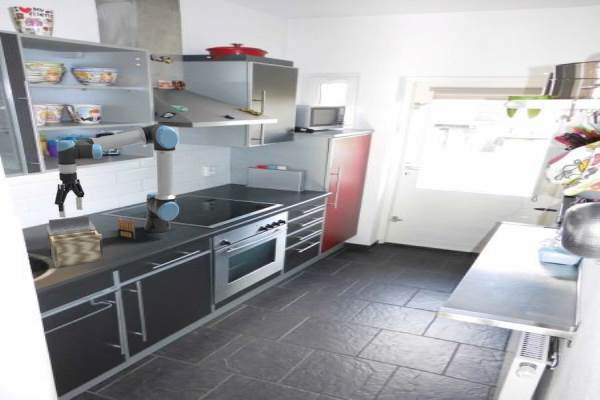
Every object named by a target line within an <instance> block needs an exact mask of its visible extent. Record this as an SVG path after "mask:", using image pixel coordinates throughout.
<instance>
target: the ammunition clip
mask: <svg viewBox="0 0 600 400" xmlns="http://www.w3.org/2000/svg"><path fill="white" fill-rule="evenodd" d="M117 237H118V238H121V239H127V240H133V241H135V240H136V239H137V237H136V229H135V221H134V219H130V218H125V217H124V218H123V217H118V228H117Z"/></svg>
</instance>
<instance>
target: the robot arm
mask: <svg viewBox="0 0 600 400" xmlns="http://www.w3.org/2000/svg"><path fill="white" fill-rule="evenodd" d="M178 142H179V135H178V133H177V131H176V130H175V129H174V128H173V127H170V126H169V125H164V124H159V123H157V124H156V123H155V124H151V125H147V126H142V127H139V128H138V129H136V130H131V131H127V132H121V133H117V134H112V135H111V134H110V135H106V136H101V137H95V138H90V139H85V140H84V139H79V140H76V141H74V140H69V139H67V140H66V139H64V140H63V139H62V140H59V141H57V142H56V154H57V162H58V171H59V173H58V176H59V181H61V183H59V184H57V188H56V189H57V191H56V194H55V195H56V196H55V199H54V205H57V206H58V212H59V218H62V219H63V218H67V212H66V204H65V201H66V199H67V196H68V194H69V193H70V192H71V191H72V192H73V194H74V195H75V196H76V197H75V205H76V210H77V211H78V210H80V211H83V198H84V197H85V191H84V190H83V187H82V185H81V181H80V179H78V172H77V162H76V161H79V160H81V161H82V160H98V159H99V160H100V159H102V157H103V152H107V151H110V150H111V151H112V150H116V149H121V148H125V147H130V146H135V145H140V144H142V145H148V144H149V145H150V144H153V151H154V152H155V153H156V176H157V179H156V181H157V187H156V188H157V191H156V192H150V193H147V194H146V220H145V224H144V227H143V229H144V231H145V232H146V233H147V232H148V233H153V234H156V233H157V234H158V233H165V232H167V231H169V230H171V224H170V221H172V220H174V219H175V218H176V217H177V216H178V214H179V212H180V207H179V205H178V204H177V195H176V194H174V167H173V166H174V162H173V154H174V153H175V152H176V146H177V144H178Z"/></svg>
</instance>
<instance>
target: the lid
mask: <svg viewBox="0 0 600 400" xmlns="http://www.w3.org/2000/svg"><path fill="white" fill-rule="evenodd" d="M89 218H90V217H89V215H83V216H73V217H66V218H63V217H62V218H58V219H56V218H55V219H48V225H46V231H47V230H48V232H49V235H53V236H57V235H65V234H73V233H81V232H88V231H89V230H96V229H97V227H96V226H95V224H93V222H92V221H91V220H90V219H89Z"/></svg>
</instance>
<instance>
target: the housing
mask: <svg viewBox="0 0 600 400" xmlns="http://www.w3.org/2000/svg"><path fill="white" fill-rule="evenodd" d="M46 234H47V245H48V246H47V247H48V249H49V250H50V251H51V259H52V262H53V265H54V266H55V269H58V268H64V267H70V266H75V265H82V264H86V263H93V262H94V263H95V262H100V261H104V252H103V251H104V250H103V234H102V233H99V232H98V231H97V230H96V229H95V230H88V231H80V232H73V233H65V234H57V235H49V232H48V230H47V229H46ZM99 260H100V261H99Z"/></svg>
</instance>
